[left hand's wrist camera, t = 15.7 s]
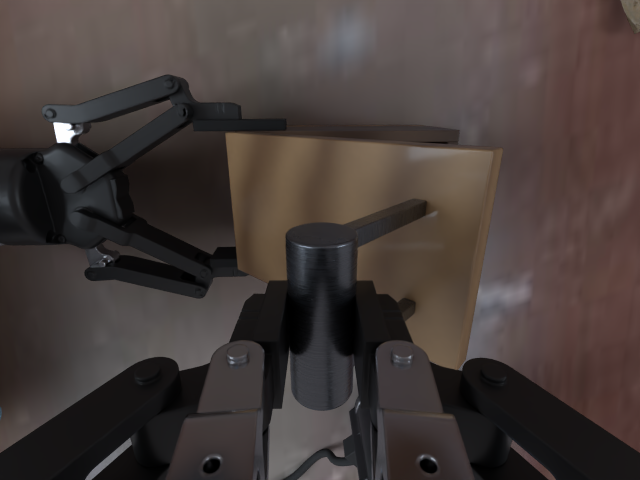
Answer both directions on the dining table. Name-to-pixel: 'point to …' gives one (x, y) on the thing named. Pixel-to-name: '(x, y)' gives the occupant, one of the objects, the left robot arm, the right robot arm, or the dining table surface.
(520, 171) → the dining table surface
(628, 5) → the jawbone
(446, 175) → the lid
